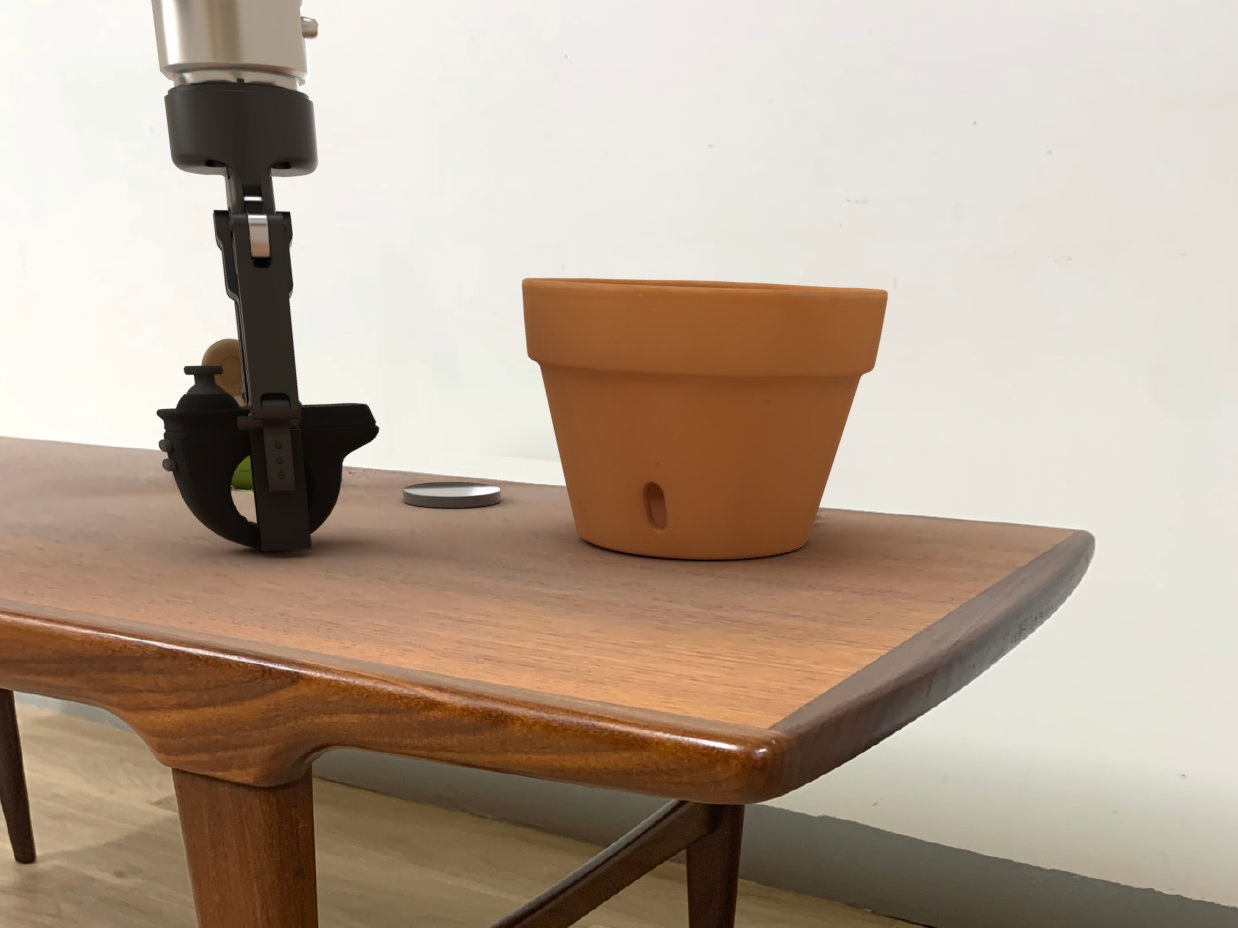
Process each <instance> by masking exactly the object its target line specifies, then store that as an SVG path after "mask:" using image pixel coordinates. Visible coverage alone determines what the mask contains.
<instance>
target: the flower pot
mask: <svg viewBox="0 0 1238 928" xmlns="http://www.w3.org/2000/svg"><path fill="white" fill-rule="evenodd" d="M521 292H522V309H523V322H524V323H523V324H524V334H525V345H526V355H527V357H528V358H529V359H530V360H531V361H533V362H536V363H537V365H539V369H540V373H541V377H542V382H543V387H544V391H545V396H546V400H547V405H548V410H549V413H550V419H551V423H552V426H553V431H554V436H555V442H556V446H557V450H558V454H559V459H560V464H561V469H562V473H563V477H564V481H565V487H566V491H567V496H568V500H569V503H570V508H571V512H572V516H573V520H574V521H573V522H574V525H575V528H576V529H575V530H576V532H577V533H578V535H579V536H580V537H581V538H582V539H583V540H584V541H586V542H588V543H590V544H592V545H595V546H597V547H601V548H604V549H607V550H611V551H616V552H620V553H626V554H632V555H639V556H647V557H655V558H666V559H679V560H681V559H682V560H744V558H745V559H756V557H758V558H765V557H764V556H766V557H772V556H771V555H773V556H777V555H776V554H779V555H782V554H781V553H783V554H786V553H785V552H788V553H791V552H794V551H797V550H798V549H801V548H802V547H803V546H805V545H806V544H807V542H808V540H809V539H810V536H811V532H812V530H813V527H814V524H815V521H816V518H817V515H818V511H819V508H820V505H821V502H822V499H823V496H824V493H825V489H826V487H827V483H828V481H829V477H830V475H831V471H832V468H833V465H834V462H835V459H836V456H837V452H838V449H839V446H840V445H841V440H842V437H843V434H844V431H845V428H846V425H847V421H848V418H849V415H850V412H851V409H852V406H853V403H854V400H855V397H856V393H857V390H858V387H859V383H860V380H861V379H862V377H863V375H865V374H868V373H871V372H872V371H873V370H874V368H875V367H876V363H877V357H878V353H879V348H880V342H881V338H882V332H883V327H884V322H885V317H886V311H887V306H888V305H887V304H888V300H889V297H888V296H889V292H888V291H887V290H885V289H881V288H880V289H879V288H867V287H865V288H864V287H839V286H836V287H835V286H818V285H800V284H799V285H798V284H783V283H768V282H767V283H766V282H746V281H745V282H741V281H740V282H739V281H727V280H725V281H723V280H694V279H693V280H692V279H691V280H690V279H633V278H632V279H631V278H630V279H629V278H597V277H595V278H592V277H526V278H524V279H522V281H521ZM800 547H801V548H800ZM796 549H797V550H796ZM793 550H794V551H793Z"/></svg>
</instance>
